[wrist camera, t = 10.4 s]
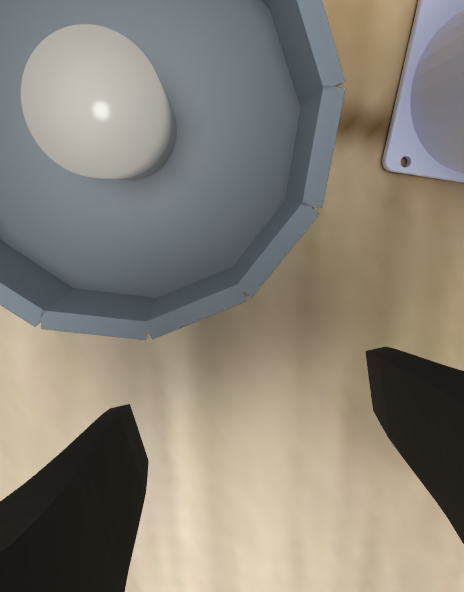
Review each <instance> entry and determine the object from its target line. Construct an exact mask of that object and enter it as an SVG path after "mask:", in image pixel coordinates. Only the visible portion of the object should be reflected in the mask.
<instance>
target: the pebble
mask: <svg viewBox="0 0 464 592" xmlns="http://www.w3.org/2000/svg"><path fill="white" fill-rule="evenodd" d="M21 104H22V110H23V114H24V118H25V121H26V124H27V126H28V128H29V130H30V132H31V135H32V136H33V138H34V139H35V141H36V143H37V144H38V145H39V147H40V148H41V149H42V150H43V151H44V152H45V153H46V154H47V155H48V156H49V157H50V158H51V159H52V160H53V161H54V162H56V163H57V164H58V165H60V166H62V167H63V168H65V169H67V170H69V171H71V172H73V173H76V174H79V175H82V176H86V177H92V178H103V179H116V180H130V181H131V180H139V179H143V178H146V177H149V176H151V175H152V174H154V173H156V172H157V171H158V170H160V169H161V168H162V167H163V166H164V165H165V163H166V162H167V161H168V159H169V158H170V156H171V154H172V152H173V149H174V146H175V142H176V136H177V126H176V119H175V114H174V111H173V109H172V106H171V104H170V102H169V100H168V97H167V95H166V93H165V91H164V89H163V87H162V85H161V82H160V80H159V78H158V76H157V74H156V72H155V70H154V68H153V66H152V64H151V63H150V61H149V60H148V58H147V57H146V56H145V54H144V53H143V52H142V51H141V50H140V49H139V48H138V47H137V46H136V45H135V44H134V43H133V42H132V41H130V40H129V39H128V38H126V37H125V36H123V35H122V34H120V33H118V32H116V31H114V30H111V29H109V28H106V27H103V26H98V25H91V24H79V25H72V26H68V27H64V28H62V29H59V30H57V31H55V32H54V33H52V34H50V35H49V36H47V37H46V38H45V39H44V40H43V41H41V43H40V44H39V45H38V46H37V47H36V48H35V49H34V51H33V53H32V54H31V56H30V57H29V59H28V62H27V64H26V66H25V69H24V73H23V76H22V82H21Z"/></svg>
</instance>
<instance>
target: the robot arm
mask: <svg viewBox="0 0 464 592" xmlns="http://www.w3.org/2000/svg"><path fill="white" fill-rule="evenodd" d="M403 157H405V158H406V159H407V164H406V166H405V167H402V166H401V164H400V161H401V159H402V158H403ZM382 164H383V167H384V168H385V169H386V170H387V171H390V172H396V173H403V174H409V175H416V176H422V177H429V178H435V179H442V180H448V181H455V182H461V183H464V0H418V5H417V9H416V14H415V18H414V22H413V27H412V31H411V36H410V40H409V44H408V49H407V53H406V58H405V62H404V67H403V71H402V75H401V80H400V84H399V89H398V93H397V97H396V102H395V106H394V111H393V115H392V119H391V124H390V128H389V133H388V137H387V141H386V146H385V150H384V155H383V159H382ZM366 359H367V366H368V374H369V382H370V389H371V397H372V405H373V411H374V413H375V415H376V416H377V418H378V420H379V422H380V424H381V426H382V427H383V429H384V431H385V433H386V434H387V436H388V438H389V439H390V441H391V442H392V443H393V445H394V446H395V447H396V449H397V450H398V452H399V453H400V454H401V456H402V457H403V458H404V460H405V461H406V462H407V464H408V465H409V466H410V468H411V469H412V470H413V471H414V473H415V474H416V475H417V477H418V478H419V479H420V481H421V482H422V483H423V485H424V486H425V487H426V489H427V490H428V491H429V493H430V494H431V495H432V497H433V498H434V499H435V501H436V502H437V503H438V505H439V506H440V508H441V509H442V511H443V512H444V513H445V515H446V516H447V518H448V519H449V521H450V523H451V524H452V526H453V527H454V529H455V531H456V532H457V534H458V536H459V537H460V539H461V540H462V542H463V544H464V371H461V370H458V369H455V368H451V367H448V366H445V365H442V364H439V363H436V362H433V361H430V360H427V359H424V358H421V357H418V356H415V355H412V354H409V353H406V352H403V351H400V350H397V349H393V348H389V347H382V348H377V349H373V350H369V351H366ZM147 475H148V458H147V455H146V452H145V449H144V446H143V443H142V440H141V437H140V434H139V430H138V427H137V424H136V421H135V418H134V415H133V412H132V409H131V406H130V404H128V405H124V406H119V407H115V408H110V409H109V410H107V411H106V412H105V413H103V414H102V415H101V416H100V417H99V418H98V419H97V420H96V421H94V422H93V423H92V424H91V425H90V426H89V427H88V428H87V429H86V430H85V431H84V432H83V433H82V434H81V435H79V436H78V437H77V438H76V439H75V440H74V441H73V442H72V443H71V444H70V445H69V446H68V447H67V448H66V449H64V450H63V451H62V452H61V453H60V454H59V455H58V456H56V457H55V458H54V459H53V460H52V461H51V462H50V463H48V464H47V465H46V466H45V467H44V468H43V469H41V470H40V471H39V472H38V473H37V474H36V475H34V476H33V477H32V478H31V479H30V480H28V481H27V482H26V483H24V484H23V485H22V486H21V487H19V488H18V489H17V490H15V491H14V492H13V493H11V494H10V495H9V496H7V497H6V498H4V499H3V500H2V501H0V592H125V586H126V581H127V575H128V570H129V566H130V561H131V557H132V552H133V548H134V544H135V539H136V535H137V531H138V526H139V522H140V517H141V513H142V508H143V504H144V499H145V494H146V486H147Z"/></svg>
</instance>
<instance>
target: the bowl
mask: <svg viewBox="0 0 464 592" xmlns="http://www.w3.org/2000/svg"><path fill="white" fill-rule="evenodd" d="M79 24H91V25H98V26H103V27H106V28H109V29H111V30H114V31H116V32H118V33H120V34H122V35H123V36H125V37H126V38H128V39H129V40H130V41H132V42H133V43H134V44H135V45H136V46H137V47H138V48H139V49H140V50H141V51H142V52H143V53H144V54H145V56H146V57H147V58H148V60H149V61H150V63H151V64H152V66H153V68H154V70H155V72H156V74H157V76H158V78H159V80H160V82H161V85H162V87H163V89H164V91H165V93H166V95H167V97H168V100H169V102H170V104H171V106H172V109H173V111H174V114H175V119H176V126H177V136H176V142H175V146H174V149H173V152H172V154H171V156H170V158H169V159H168V161H167V162H166V163H165V165H164V166H163V167H162V168H161V169H160V170H158V171H157V172H156V173H154V174H152V175H151V176H149V177H146V178H143V179H139V180H131V181H130V180H116V179H103V178H92V177H86V176H82V175H79V174H76V173H73V172H71V171H69V170H67V169H65V168H63V167H62V166H60V165H58V164H57V163H56V162H54V161H53V160H52V159H51V158H50V157H49V156H48V155H47V154H46V153H45V152H44V151H43V150H42V149H41V148H40V147H39V145H38V144H37V143H36V141H35V139H34V138H33V136H32V135H31V132H30V130H29V128H28V126H27V124H26V121H25V118H24V114H23V110H22V104H21V82H22V76H23V73H24V69H25V66H26V64H27V62H28V59H29V57H30V56H31V54H32V53H33V51H34V49H35V48H36V47H37V46H38V45H39V44H40V43H41V41H43V40H44V39H45V38H46V37H47V36H49V35H50V34H52V33H54V32H55V31H57V30H59V29H62V28H64V27H68V26H72V25H79ZM343 82H345V79H344V76H343V72H342V69H341V65H340V62H339V58H338V55H337V51H336V48H335V44H334V41H333V37H332V34H331V30H330V27H329V23H328V20H327V16H326V13H325V9H324V6H323V2H322V0H0V305H1V306H3V307H4V308H6V309H7V310H9V311H11V312H12V313H14V314H15V315H17V316H18V317H20V318H22V319H23V320H25V321H26V322H28V323H30V324H31V325H33V326H34V327H36V326H37V325H38V324H39V323H41V329H46V330H55V331H64V332H74V333H83V334H93V335H102V336H112V337H121V338H131V339H140V340H147V338H148V335H149V334H150V336H151V338H152V339H155V338H157V337H159V336H162V335H164V334H167V333H169V332H172V331H174V330H177V329H179V328H182V327H184V326H187V325H189V324H192V323H194V322H196V321H199V320H201V319H204V318H206V317H209V316H211V315H214V314H216V313H219V312H221V311H224V310H226V309H229V308H231V307H233V306H236V305H238V304H241V303H243V302H246V301H247V300H246V297H245V294H244V292H245V293H246V294H248V295H249V296H250V297H253V295H254V294H255V293H256V292H257V290H258V289H259V288H260V287H261V285H262V284H263V283H264V282H265V280H266V279H267V278H268V277H269V276H270V274H271V273H272V272H273V271H274V269H275V268H276V267H277V266H278V264H279V263H280V262H281V261H282V259H283V258H284V257H285V256H286V255H287V253H288V252H289V251H290V250H291V248H292V247H293V246H294V245H295V243H296V242H297V241H298V240H299V238H300V237H301V236H302V235H303V234H304V232H305V231H306V230H307V229H308V227H309V226H310V225H311V224H312V222H313V221H314V220H315V219H316V217H317V216H318V215H319V213H318V212H317V211H315V210H314V209H313V208H312V207H319V208H322V206H323V201H324V196H325V191H326V186H327V180H328V175H329V170H330V165H331V160H332V155H333V150H334V144H335V139H336V134H337V129H338V124H339V119H340V114H341V108H342V103H343V98H344V93H345V88H340V87H338V86H339V85H341V84H342V83H343ZM311 206H312V207H311Z"/></svg>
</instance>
